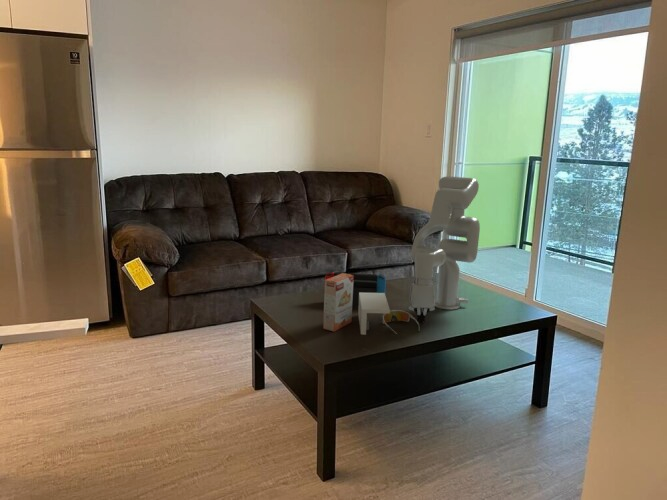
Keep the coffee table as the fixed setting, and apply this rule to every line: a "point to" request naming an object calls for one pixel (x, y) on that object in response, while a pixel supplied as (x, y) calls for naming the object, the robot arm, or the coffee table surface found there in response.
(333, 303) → the cracker box
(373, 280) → the game console
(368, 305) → the overhang dock
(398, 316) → the sunglasses
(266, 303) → the coffee table surface
